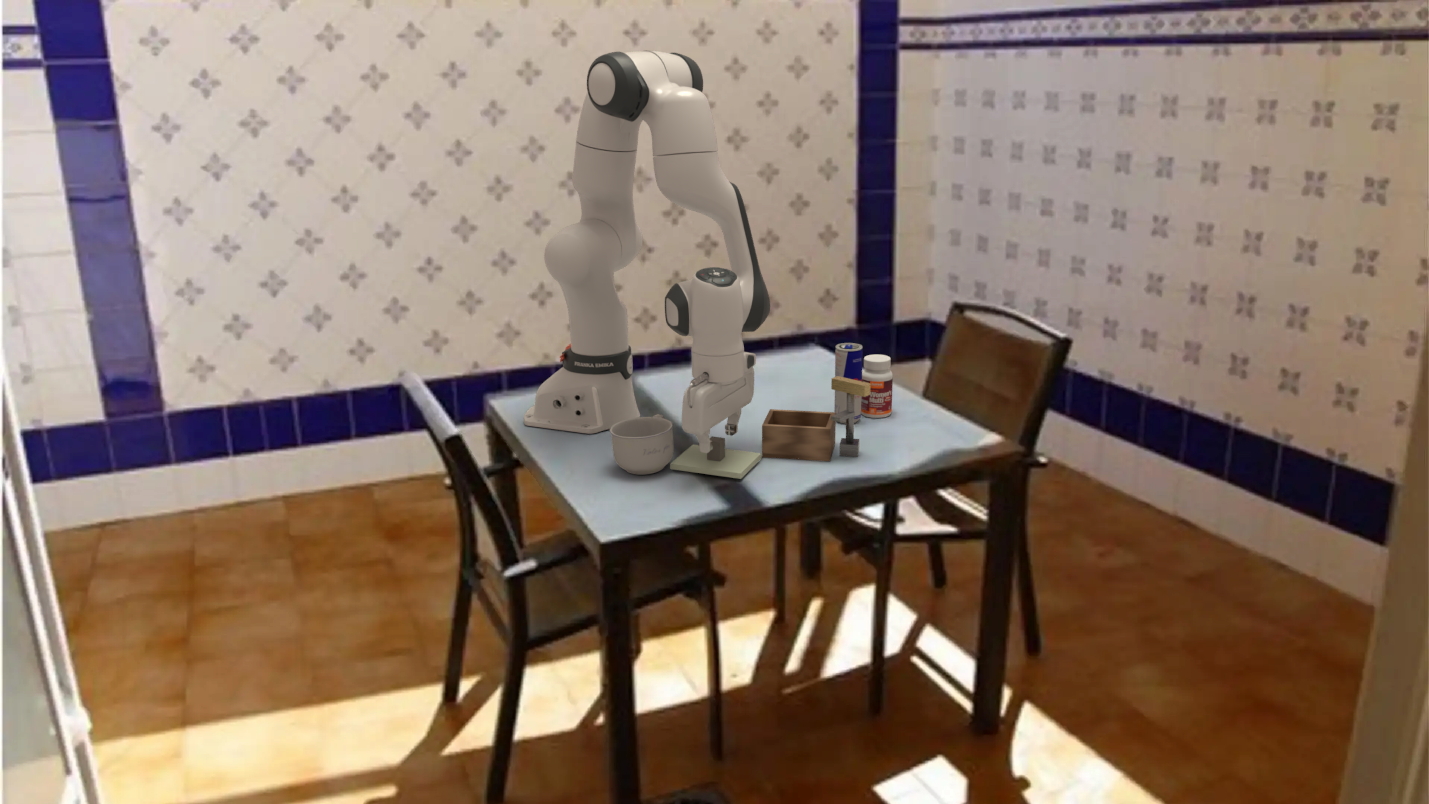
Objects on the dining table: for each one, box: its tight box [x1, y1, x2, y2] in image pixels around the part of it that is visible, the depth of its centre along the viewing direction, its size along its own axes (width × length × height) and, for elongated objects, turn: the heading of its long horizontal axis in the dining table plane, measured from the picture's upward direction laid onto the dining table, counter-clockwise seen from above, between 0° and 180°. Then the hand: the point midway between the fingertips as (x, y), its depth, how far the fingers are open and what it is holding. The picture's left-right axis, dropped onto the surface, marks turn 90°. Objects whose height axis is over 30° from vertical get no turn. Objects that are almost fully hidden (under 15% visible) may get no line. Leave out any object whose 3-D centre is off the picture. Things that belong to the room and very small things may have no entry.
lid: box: [669, 436, 762, 480], centre depth 205 cm, size 13×10×5 cm
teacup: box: [609, 413, 675, 476], centre depth 206 cm, size 14×11×8 cm
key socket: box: [839, 437, 860, 458], centre depth 211 cm, size 3×3×2 cm
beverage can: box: [833, 342, 864, 425], centre depth 226 cm, size 5×5×15 cm
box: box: [761, 408, 837, 462], centre depth 212 cm, size 12×9×6 cm
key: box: [830, 376, 871, 442], centre depth 208 cm, size 5×7×11 cm
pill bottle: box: [861, 354, 894, 419], centre depth 230 cm, size 6×6×11 cm
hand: (719, 442), depth 204 cm, fingers open, 8 cm apart
